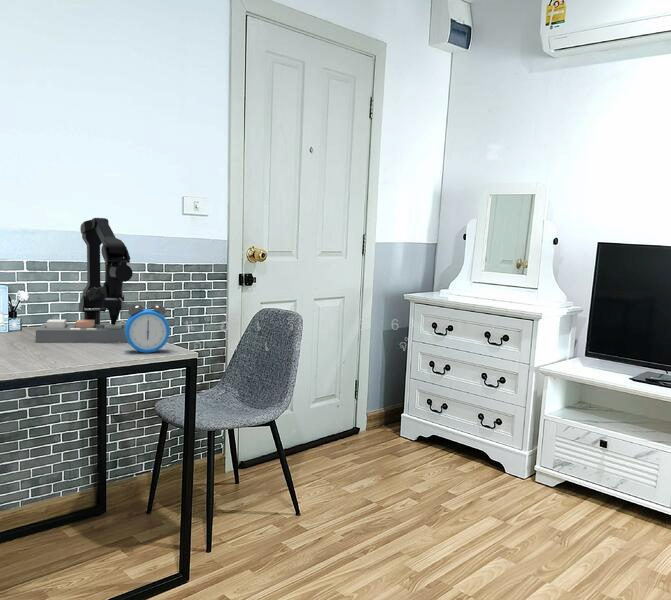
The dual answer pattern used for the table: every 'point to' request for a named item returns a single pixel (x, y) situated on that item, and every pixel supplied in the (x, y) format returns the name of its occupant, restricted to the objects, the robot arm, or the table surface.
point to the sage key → (109, 325)
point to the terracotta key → (85, 324)
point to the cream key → (56, 323)
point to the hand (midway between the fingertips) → (113, 324)
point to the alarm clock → (147, 328)
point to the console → (81, 334)
